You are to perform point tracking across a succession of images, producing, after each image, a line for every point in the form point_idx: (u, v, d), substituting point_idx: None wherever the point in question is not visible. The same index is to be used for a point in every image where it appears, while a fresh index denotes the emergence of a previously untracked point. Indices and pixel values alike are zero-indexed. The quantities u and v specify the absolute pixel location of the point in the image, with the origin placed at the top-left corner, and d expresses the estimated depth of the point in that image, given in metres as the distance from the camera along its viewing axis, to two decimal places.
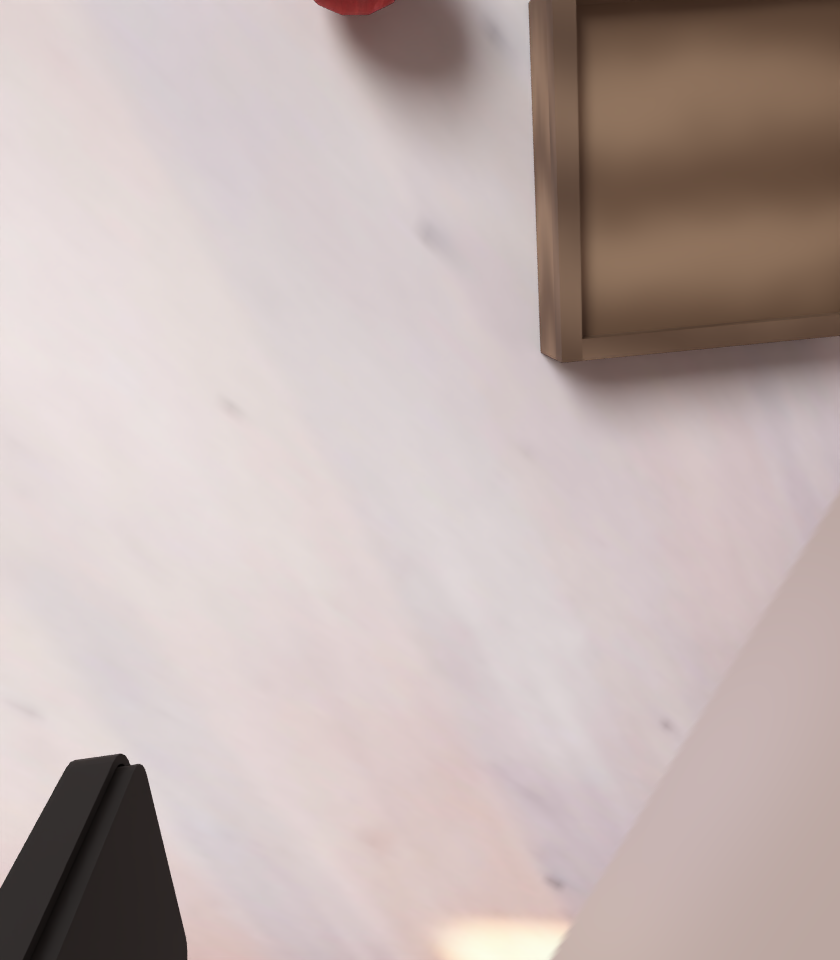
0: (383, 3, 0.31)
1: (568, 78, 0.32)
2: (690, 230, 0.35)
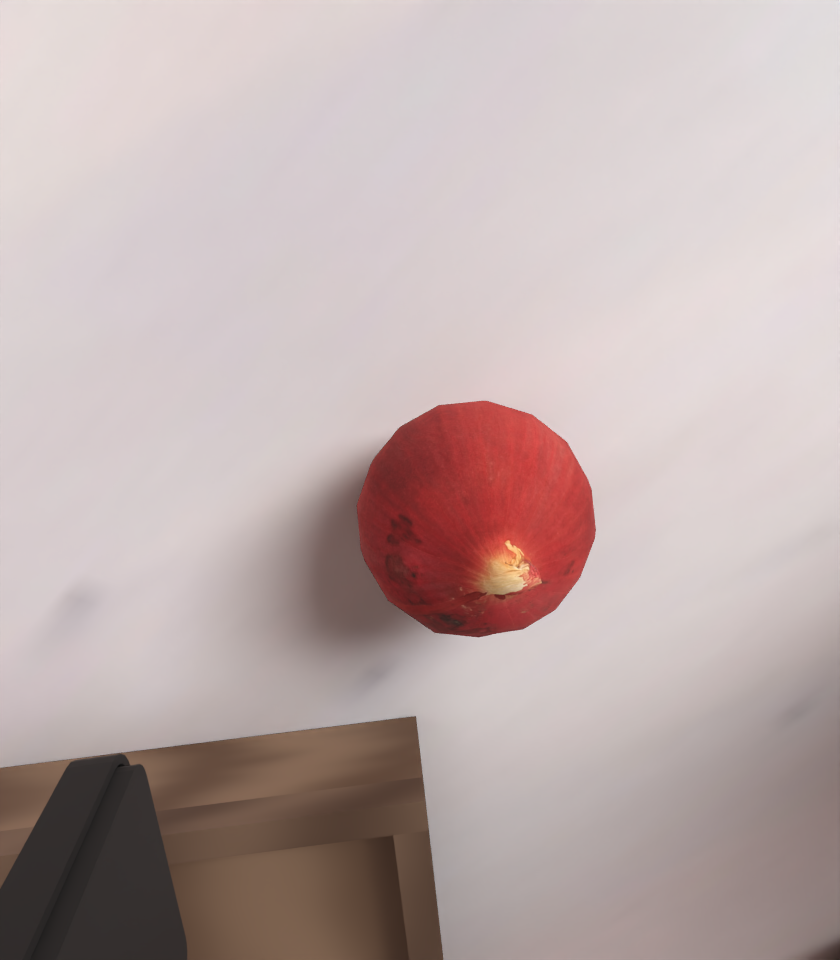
0: None
1: (284, 837, 0.21)
2: None
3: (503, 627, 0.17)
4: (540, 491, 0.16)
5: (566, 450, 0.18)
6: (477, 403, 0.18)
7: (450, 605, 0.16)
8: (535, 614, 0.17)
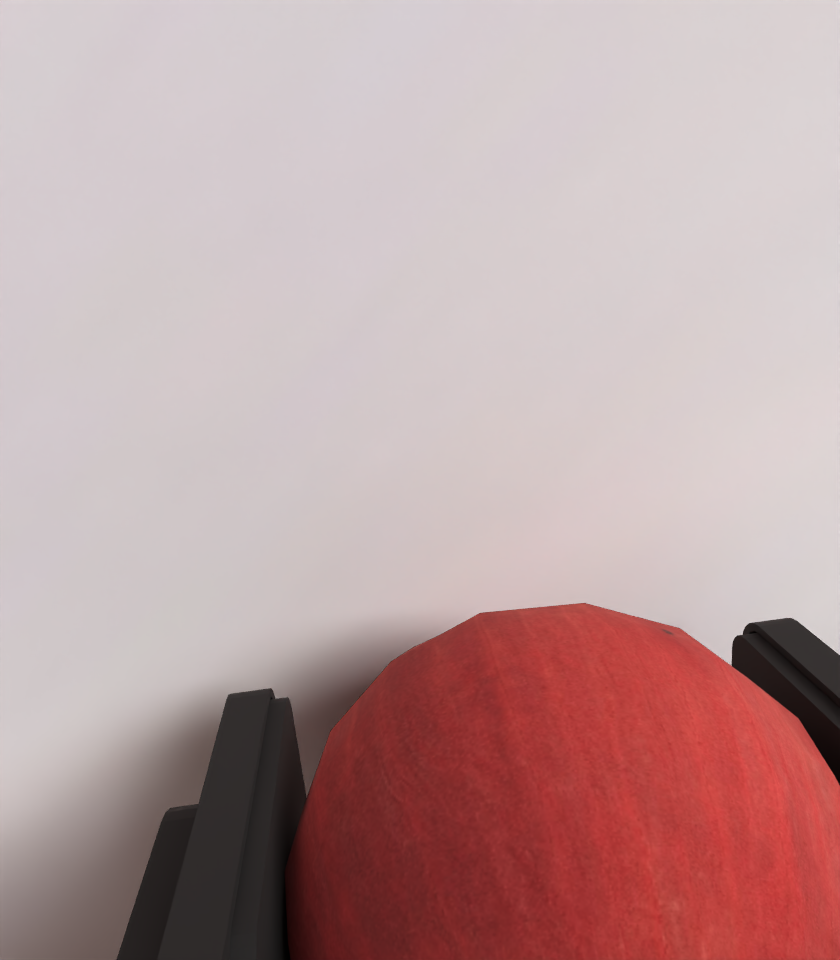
0: None
1: None
2: None
3: None
4: None
5: (826, 771, 0.07)
6: (586, 637, 0.07)
7: None
8: None
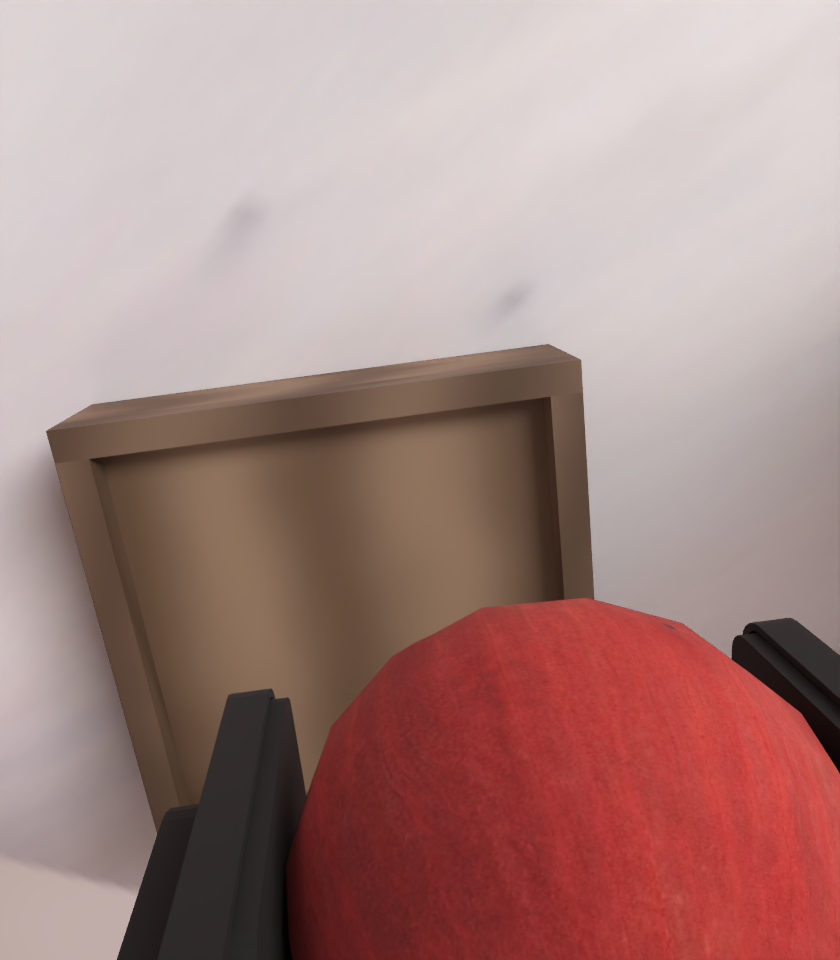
0: None
1: (453, 397, 0.23)
2: (273, 592, 0.25)
3: None
4: None
5: (829, 766, 0.07)
6: (587, 631, 0.07)
7: None
8: None
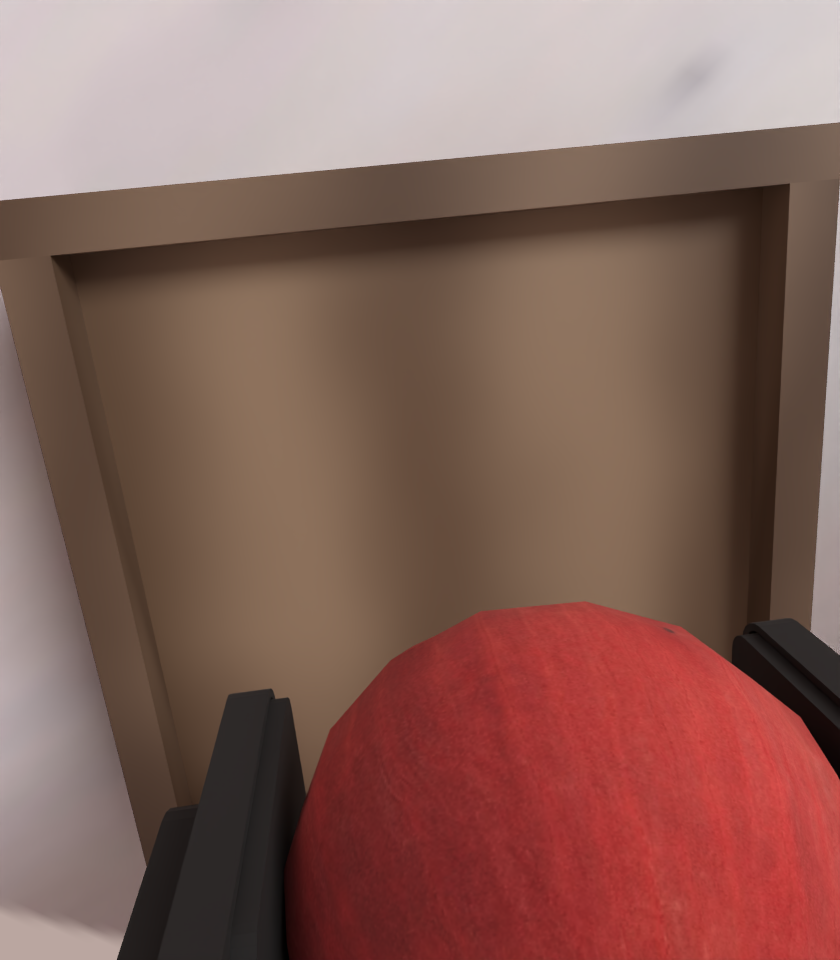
0: None
1: (640, 176, 0.14)
2: (333, 498, 0.17)
3: None
4: None
5: (828, 770, 0.07)
6: (587, 635, 0.07)
7: None
8: None
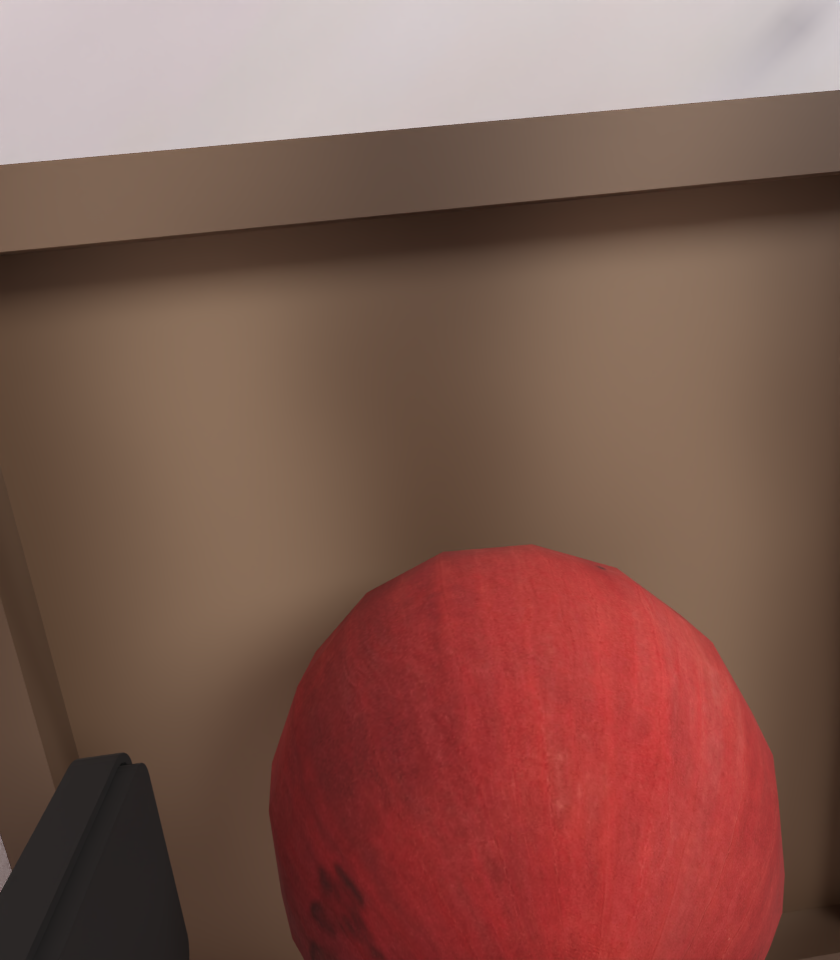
0: None
1: (754, 148, 0.10)
2: (320, 587, 0.12)
3: None
4: (684, 831, 0.06)
5: (722, 679, 0.08)
6: (521, 564, 0.08)
7: None
8: None
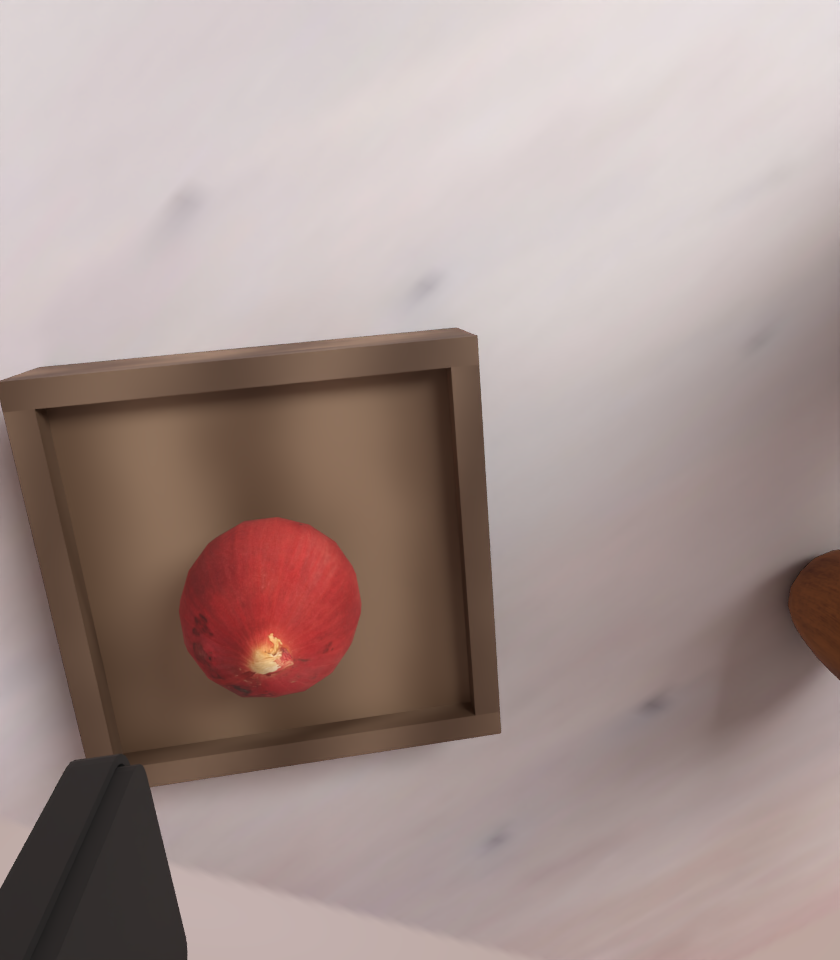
0: None
1: (365, 364, 0.26)
2: (202, 540, 0.28)
3: (281, 692, 0.23)
4: (300, 594, 0.22)
5: (331, 557, 0.24)
6: (267, 523, 0.24)
7: (236, 679, 0.22)
8: (305, 682, 0.23)
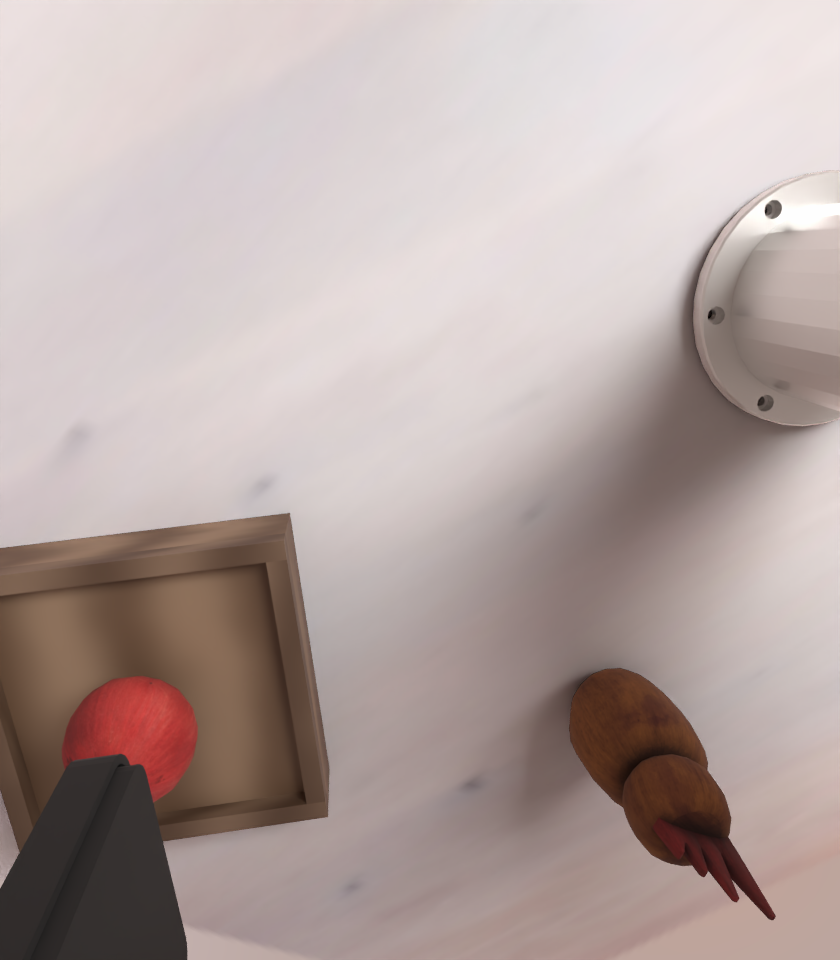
0: None
1: (201, 562, 0.36)
2: (94, 680, 0.38)
3: None
4: (136, 745, 0.32)
5: (167, 712, 0.34)
6: (124, 685, 0.34)
7: None
8: None
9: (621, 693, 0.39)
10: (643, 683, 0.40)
